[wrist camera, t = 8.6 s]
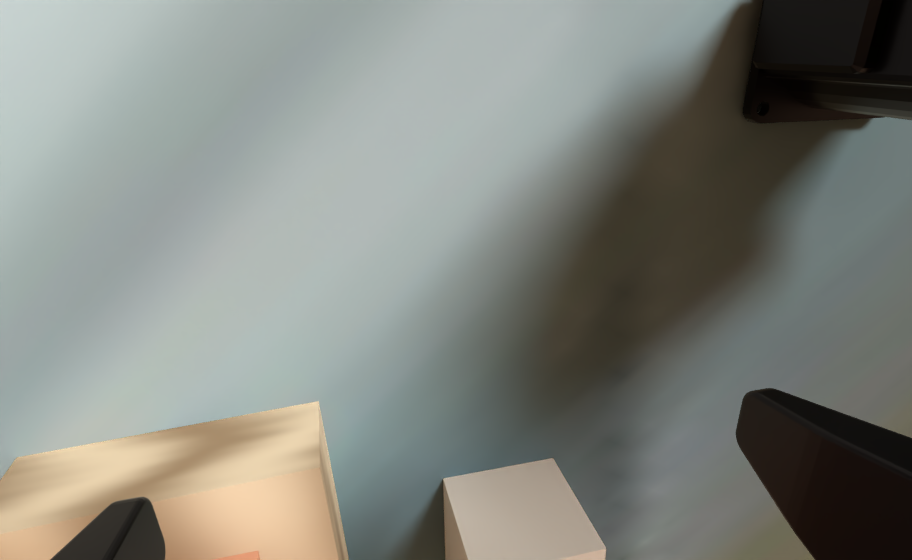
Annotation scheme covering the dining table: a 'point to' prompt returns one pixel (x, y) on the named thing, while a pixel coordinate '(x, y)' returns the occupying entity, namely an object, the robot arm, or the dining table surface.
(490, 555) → the beige cube
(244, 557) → the terracotta cube
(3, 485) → the birch base block
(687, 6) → the dining table surface
